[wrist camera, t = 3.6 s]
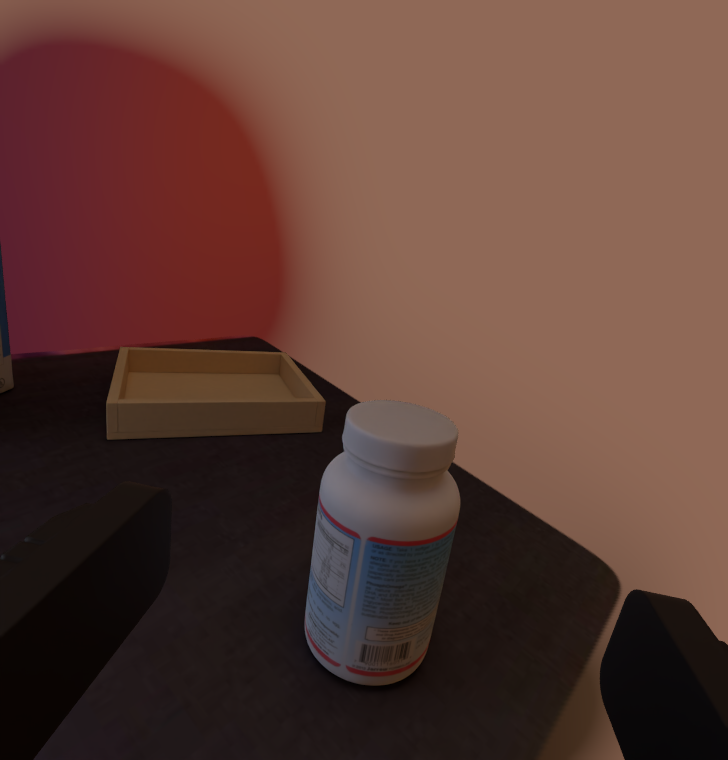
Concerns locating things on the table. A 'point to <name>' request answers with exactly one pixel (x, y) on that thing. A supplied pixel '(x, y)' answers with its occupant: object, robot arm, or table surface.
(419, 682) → the table surface
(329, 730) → the table surface
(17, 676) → the robot arm
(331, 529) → the pill bottle
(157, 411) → the tray
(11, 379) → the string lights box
